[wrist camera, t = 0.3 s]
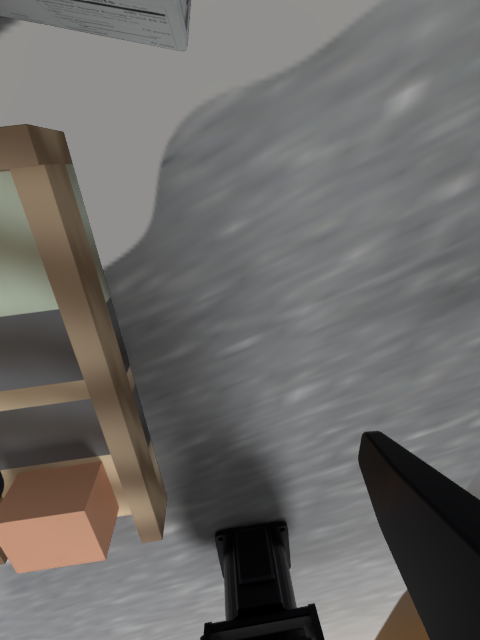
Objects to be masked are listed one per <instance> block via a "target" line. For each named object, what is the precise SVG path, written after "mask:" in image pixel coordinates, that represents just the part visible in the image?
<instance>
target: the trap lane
mask: <svg viewBox="0 0 480 640" xmlns="http://www.w3.org/2000/svg"><path fill="white" fill-rule="evenodd" d="M99 461H102V462H103V465H104V468H105V470H106V473H107V476H108V478H109V481H110V484H111V486H112V489H113V492H114V494H115V497H116V500H117V502H118V505H119V511H118V515H117V517H118V516H125V515H132V516H133V519H134V522H135V525H136V527H137V530H138V533H139V536H140V539H141V541H142V543H146V542H152V541H159V540H162V539H163V530H164V522H165V514H166V506H167V495H166V492H165V488H164V485H163V481H162V478H161V474H160V471H159V467H158V464H157V460H156V457H155V453H154V449H153V446H152V442H151V439H150V435H149V432H148V428H147V425H146V421H145V418H144V414H143V411H142V407H141V404H140V400H139V397H138V393H137V389H136V386H135V382H134V379H133V375H132V372H131V368H130V365H129V361H128V358H127V354H126V351H125V347H124V344H123V340H122V336H121V333H120V329H119V326H118V322H117V319H116V315H115V312H114V308H113V305H112V301H111V298H110V294H109V291H108V287H107V284H106V280H105V276H104V273H103V269H102V266H101V262H100V259H99V255H98V252H97V248H96V245H95V241H94V238H93V234H92V231H91V227H90V223H89V220H88V216H87V213H86V210H85V206H84V202H83V199H82V195H81V192H80V188H79V185H78V181H77V178H76V174H75V171H74V167H73V164H72V160H71V156H70V153H69V149H68V146H67V142H66V139H65V135H64V132H61V131H57V130H52V129H47V128H42V127H38V126H33V125H28V124H22V125H14V126H5V127H0V471H1V473H2V476H3V479H4V490H3V493H2V496H1V499H0V503H1V502H2V500H3V498H4V497H5V495H6V494H7V492H8V490H9V489H10V487H11V485H12V484H13V482H14V480H15V479H16V477H17V475H18V474H19V473H23V472H29V471H36V470H43V469H50V468H57V467H64V466H71V465H78V464H85V463H92V462H99ZM7 559H8V558H7V556H6V554H5V553H4V551H3V550H2V548H1V547H0V565H1V564H5V563H6V561H7Z"/></svg>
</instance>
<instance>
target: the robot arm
mask: <svg viewBox="0 0 480 640" xmlns="http://www.w3.org/2000/svg"><path fill="white" fill-rule="evenodd" d="M358 461H359V466H360V469H361V472H362V475H363V478H364V481H365V484H366V487H367V490H368V493H369V496H370V499H371V502H372V505H373V508H374V511H375V514H376V517H377V520H378V523H379V526H380V528H381V530H382V533H383V535H384V537H385V540H386V542H387V544H388V546H389V549H390V551H391V553H392V555H393V558H394V560H395V562H396V564H397V567H398V569H399V571H400V573H401V576H402V578H403V580H404V582H405V585H406V587H407V589H408V591H409V593H410V596H411V598H412V600H413V602H414V604H415V607H416V609H417V611H418V614H419V616H420V618H421V620H422V622H423V625H424V627H425V629H426V632H427V634H428V636H429V638H430V640H480V500H479V499H478V498H476V497H475V496H473V495H472V494H470V493H469V492H467V491H466V490H465V489H463V488H462V487H460V486H459V485H457V484H456V483H454V482H453V481H451V480H450V479H449V478H447V477H446V476H444V475H443V474H441V473H440V472H438V471H437V470H436V469H434V468H433V467H431V466H430V465H428V464H427V463H425V462H424V461H422V460H421V459H420V458H418V457H417V456H415V455H414V454H412V453H411V452H409V451H408V450H406V449H405V448H404V447H402V446H401V445H399V444H398V443H396V442H395V441H393V440H392V439H390V438H389V437H388V436H386V435H385V434H383V433H382V432H380V431H369V432H364V433H363V434H362V437H361V443H360V449H359V455H358ZM3 490H4V479H3V476H2V473H1V471H0V499H1V496H2V493H3ZM215 542H216V547H217V551H218V556H219V561H220V565H221V570H222V575H223V578H224V586H225V612H226V621H222V622H217V623H212V622H208V623H205V625H204V635H203V636H202V637H200V640H324V636H323V632H322V629H321V625H320V621H319V618H318V614H317V610H316V607H315V603H314V604H308V606H305V607H300V608H297V607H296V601H295V596H294V591H293V586H292V581H291V576H290V571H289V569H290V568H291V563H290V550H289V537H288V527H287V524H286V523H285V522H276V523H270V524H263V525H257V526H250V527H243V528H237V529H230V530H224V531H218V532H216V534H215Z"/></svg>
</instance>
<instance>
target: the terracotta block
mask: <svg viewBox="0 0 480 640" xmlns="http://www.w3.org/2000/svg"><path fill="white" fill-rule="evenodd" d="M118 511H119V505H118V502H117V500H116V497H115V494H114V492H113V489H112V486H111V484H110V481H109V478H108V476H107V473H106V470H105V468H104V465H103V462H102V461H99V462H92V463H85V464H78V465H71V466H64V467H57V468H50V469H43V470H36V471H29V472H23V473H19V474H18V475H17V477H16V479H15V480H14V482H13V484H12V485H11V487H10V489H9V490H8V492H7V494H6V495H5V497H4V498H3V500H2V502H1V503H0V547H1V548H2V550H3V551H4V553H5V554H6V556H7V558H8V559H9V561H10V562H11V564H12V566H13V567H14V569H15V570H16V572H17V573H24V572H30V571H37V570H43V569H50V568H56V567H63V566H69V565H76V564H82V563H89V562H96V561H102V560H106V557H107V553H108V550H109V546H110V542H111V538H112V534H113V530H114V526H115V522H116V519H117V515H118Z"/></svg>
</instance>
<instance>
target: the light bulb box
mask: <svg viewBox="0 0 480 640" xmlns="http://www.w3.org/2000/svg"><path fill="white" fill-rule="evenodd" d="M190 7H191V0H0V16H3V17H8V18H14V19H19V20H24V21H29V22H35V23H40V24H45V25H51V26H55V27H60V28H65V29H70V30H76V31H81V32H86V33H91V34H95V35H100V36H106V37H111V38H116V39H122V40H127V41H132V42H137V43H142V44H148V45H153V46H157V47H162V48H167V49H172V50H177V51H186V50H187V45H188V33H189V19H190Z"/></svg>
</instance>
